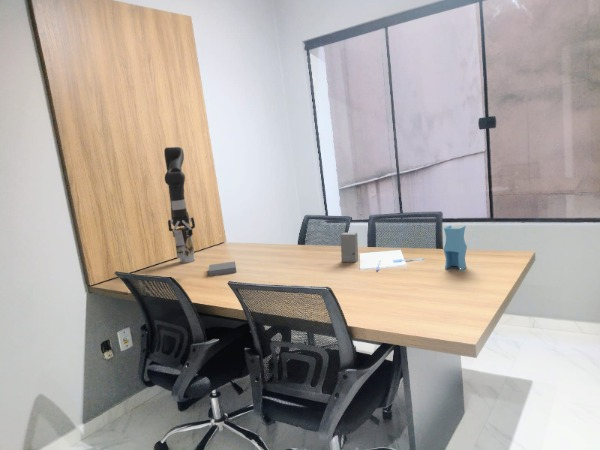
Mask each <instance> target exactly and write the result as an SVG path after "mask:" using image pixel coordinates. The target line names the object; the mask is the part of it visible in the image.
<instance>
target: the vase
mask: <svg viewBox="0 0 600 450" xmlns="http://www.w3.org/2000/svg"><path fill="white" fill-rule="evenodd" d="M466 227H467V226H466V225H463V226H461V227H457V228H456V227H455V228H453V227H452V225H451V224H450V225H447V226H445V227H443V229H444V233H445V243H444V248H443V253H444V256H445V266H444V270H447V269H450V268H451V267H458V271H459V272H462V271H463V270H465V269H466V268H467V264H466V254H467V248H468V247H467V245H466V242H465V231H466ZM460 268H461V269H460Z"/></svg>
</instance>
